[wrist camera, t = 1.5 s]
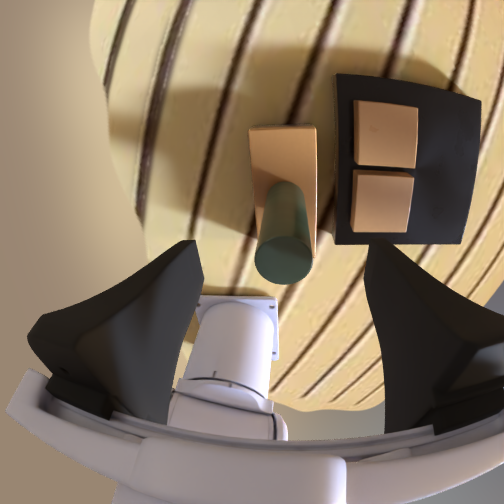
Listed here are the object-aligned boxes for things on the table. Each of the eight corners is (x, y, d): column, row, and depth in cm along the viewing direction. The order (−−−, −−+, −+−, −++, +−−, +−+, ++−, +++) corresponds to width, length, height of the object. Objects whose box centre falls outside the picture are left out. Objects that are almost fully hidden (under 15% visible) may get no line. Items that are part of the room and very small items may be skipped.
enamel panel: (453, 235, 19) (460, 244, 18) (332, 235, 21) (334, 245, 19) (470, 99, 13) (481, 100, 11) (331, 75, 14) (336, 73, 13)
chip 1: (408, 163, 15) (415, 168, 14) (353, 160, 16) (357, 165, 15) (410, 106, 13) (418, 107, 12) (353, 99, 14) (357, 100, 13)
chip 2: (400, 224, 18) (406, 232, 17) (349, 224, 18) (353, 232, 17) (407, 172, 16) (414, 177, 15) (353, 169, 16) (357, 174, 15)
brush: (312, 240, 21) (323, 334, 13) (262, 241, 22) (245, 334, 14) (312, 123, 16) (337, 150, 8) (252, 126, 17) (220, 154, 9)
